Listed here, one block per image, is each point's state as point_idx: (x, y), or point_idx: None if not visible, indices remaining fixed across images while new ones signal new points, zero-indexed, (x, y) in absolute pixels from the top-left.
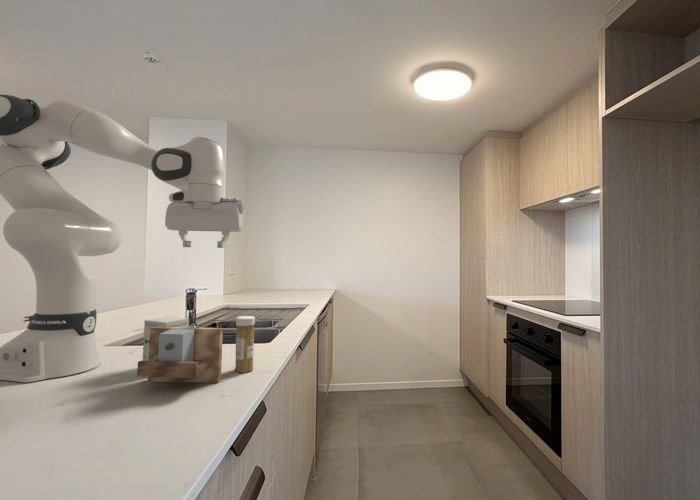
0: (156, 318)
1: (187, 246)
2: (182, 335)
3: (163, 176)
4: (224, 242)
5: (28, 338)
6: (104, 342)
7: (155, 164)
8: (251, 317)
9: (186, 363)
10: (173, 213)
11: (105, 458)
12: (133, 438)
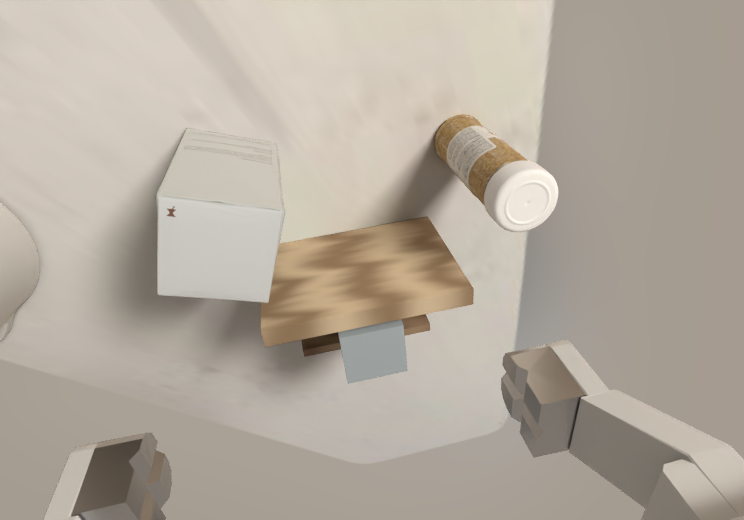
0: (172, 262)
1: (163, 475)
2: (404, 368)
3: None
4: (598, 393)
5: None
6: None
7: None
8: (550, 205)
9: (409, 333)
10: None
11: (404, 423)
12: (405, 396)
